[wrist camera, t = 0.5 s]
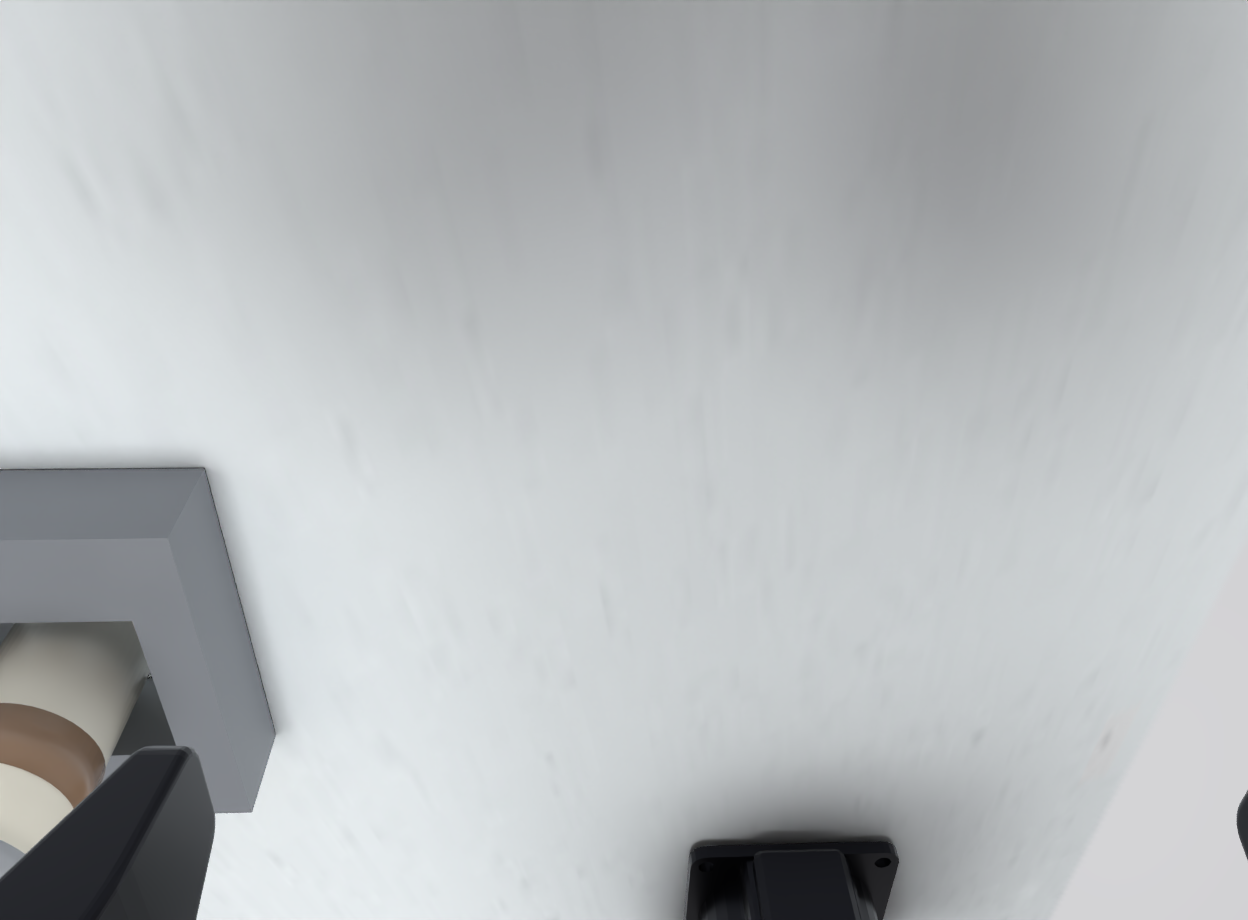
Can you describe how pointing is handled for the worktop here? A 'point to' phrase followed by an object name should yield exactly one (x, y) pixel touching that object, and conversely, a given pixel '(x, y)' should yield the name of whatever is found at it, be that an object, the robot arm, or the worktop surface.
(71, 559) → the fuse holder
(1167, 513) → the worktop surface
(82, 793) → the fuse
